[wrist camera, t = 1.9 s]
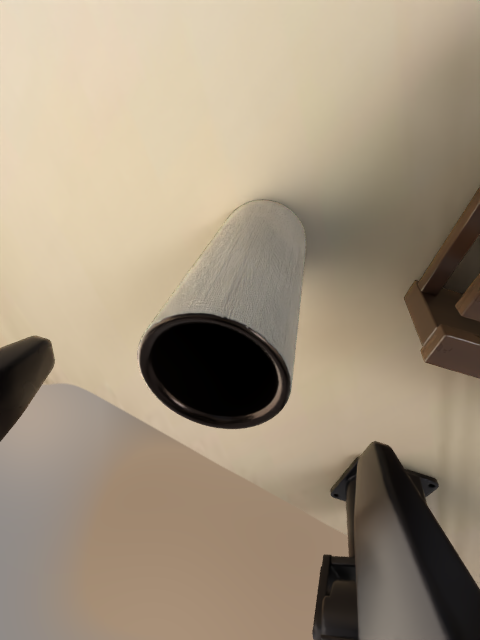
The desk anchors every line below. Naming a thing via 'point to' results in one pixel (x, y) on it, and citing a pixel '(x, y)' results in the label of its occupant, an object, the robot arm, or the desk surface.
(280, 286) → the grey hollow cylinder
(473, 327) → the rack
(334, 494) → the robot arm
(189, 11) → the desk surface
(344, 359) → the desk surface
